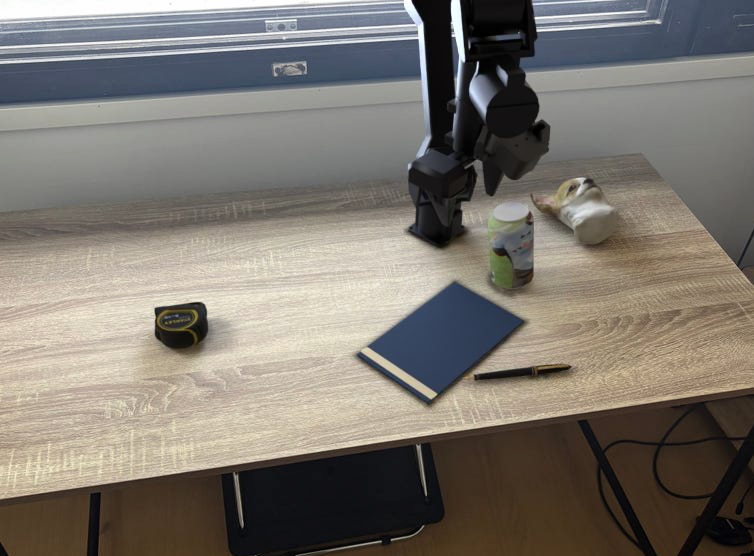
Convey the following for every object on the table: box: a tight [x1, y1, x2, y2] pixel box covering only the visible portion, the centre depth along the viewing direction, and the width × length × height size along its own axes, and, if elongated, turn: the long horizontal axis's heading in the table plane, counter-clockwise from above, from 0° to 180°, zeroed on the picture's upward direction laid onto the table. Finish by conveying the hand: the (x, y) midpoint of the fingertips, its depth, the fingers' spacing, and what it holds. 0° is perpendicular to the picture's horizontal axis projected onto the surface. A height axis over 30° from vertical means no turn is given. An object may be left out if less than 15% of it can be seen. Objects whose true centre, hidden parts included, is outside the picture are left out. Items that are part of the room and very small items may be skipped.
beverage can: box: [487, 200, 535, 290], centre depth 100 cm, size 6×7×12 cm
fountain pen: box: [461, 363, 573, 381], centre depth 91 cm, size 14×1×2 cm, turn 98°
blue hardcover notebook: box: [356, 281, 525, 405], centre depth 96 cm, size 12×20×1 cm, turn 136°
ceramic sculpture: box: [529, 177, 621, 245], centre depth 111 cm, size 11×9×15 cm
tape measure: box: [154, 301, 209, 350], centre depth 95 cm, size 7×7×4 cm
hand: (468, 209), depth 94 cm, fingers open, 9 cm apart
